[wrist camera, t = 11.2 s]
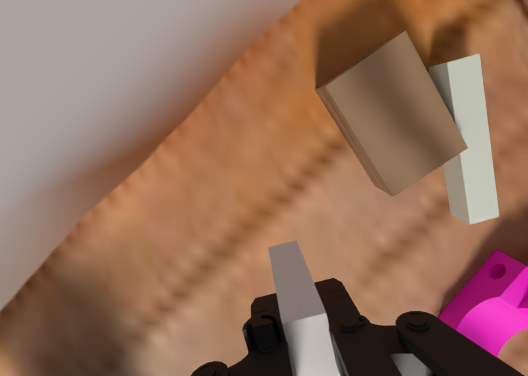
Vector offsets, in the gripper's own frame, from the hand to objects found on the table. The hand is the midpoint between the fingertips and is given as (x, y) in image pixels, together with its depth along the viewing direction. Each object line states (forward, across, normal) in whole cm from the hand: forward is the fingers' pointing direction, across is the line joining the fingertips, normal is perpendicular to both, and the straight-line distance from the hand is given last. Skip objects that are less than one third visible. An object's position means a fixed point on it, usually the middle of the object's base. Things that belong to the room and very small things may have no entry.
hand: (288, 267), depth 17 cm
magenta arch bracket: (+19, +20, -20) cm, 34 cm away
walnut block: (+19, +13, +5) cm, 23 cm away
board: (+19, +20, 0) cm, 28 cm away
